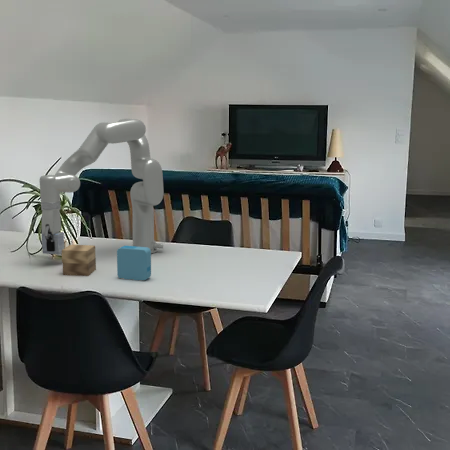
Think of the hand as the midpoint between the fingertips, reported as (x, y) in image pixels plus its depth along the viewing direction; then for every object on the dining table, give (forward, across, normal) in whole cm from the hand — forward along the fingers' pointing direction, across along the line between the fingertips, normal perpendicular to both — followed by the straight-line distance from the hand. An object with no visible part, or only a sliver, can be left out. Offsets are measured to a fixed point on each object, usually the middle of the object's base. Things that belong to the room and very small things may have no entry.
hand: (53, 249), depth 244 cm
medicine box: (+2, 0, 0) cm, 2 cm away
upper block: (+2, +12, +14) cm, 18 cm away
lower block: (+7, +12, +14) cm, 20 cm away
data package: (+7, +18, +37) cm, 42 cm away
